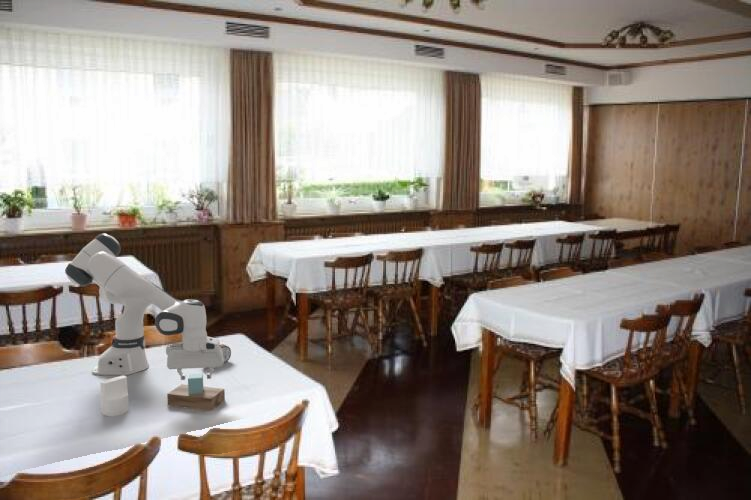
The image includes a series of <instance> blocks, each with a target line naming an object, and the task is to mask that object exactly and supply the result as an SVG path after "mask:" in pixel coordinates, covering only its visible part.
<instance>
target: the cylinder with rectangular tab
mask: <svg viewBox="0 0 751 500" xmlns="http://www.w3.org/2000/svg"><path fill="white" fill-rule="evenodd" d="M99 385H100V403H101V413H102V415H103V416H105V417H116V416H121V415H124V414H126V413H128V411H129V410H130V407H129V405H130V404H129V393H128V392H129V390H128V378H127V375H117V376H116V377H111V378H107V379H105V380H101V381H99Z"/></svg>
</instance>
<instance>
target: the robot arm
mask: <svg viewBox="0 0 751 500" xmlns="http://www.w3.org/2000/svg"><path fill="white" fill-rule="evenodd" d="M121 248H122V247H121V245H120V243H119V241H118V240H117V239H116V238H115V237H114V236H112V235H109V234H107V233H100V234H98V235H97V236H95V237H94V239H92V240H91V241H89V243H87V244H86V245H85V246H83V248H81V250H80V251H79V252H78V254H77V255H76V256H75V257H74V258H73V259H72V260H71V262H69V263H68V264H67V266H66V267H65V272H64V273H65V274H66V277H67V278H68V280H69V281H70V282H71V283H73V284H75V285H76V286H78V287H79V286H80V287H86V286H89V285H90V284H92V283H95V284H96V285H97V286H98V287H99V289H98V293H99V294H98V296H99V297H100V299H101V300H102V301H104V302H106V303H109V304H112V305H119V306H123V313H122V314H119V315H118V317H116V319H115V321H114V325H115V335H113V336H112V338H111V339H110V345H111V346H109V347H108V348H107V349H106V350H104V352H103V353H101V354H100V355H99V358H98V363H97V364H96V365H95V366H94V367H93V368H92V374H93V375H106V376H109V375H110V376H122V375H123V376H129V375H131V374H135V373H137V372H138V373H139V372H141V371H144V370H146V369H148V368H149V366H150V364H149V363H148V358H147V353H146V349H145V348H146V338H145V334H144V316H145V314H146V310H147V309H148V307H149V306H150V305H152V304H153V305H154V306H156V307H157V308H159V309H160V310H161V311H160V312H159V313H158V314H157V315H156V317H155V319H154V324H155V328H156V330H157V331H158V332H159V333H160V334H161V335H164V336H174V335H179V334H181V337H182V338H181V342H182V343H170V344H168V345H167V346H166V347H165V353H166V356H167V358H166V360H167V361H166V367H167V369H168V370H177V371H176V372H177V373H178V375H179V376H180V380H181V381H185V380H186V373H183V372H182V370H184V369H185V370H186V369H203V368H204V369H205V368H208V369H209V370H210V372H207V373H206V379H207V380H208V379H209V380H211V379H212V373H214V369H215V368H222V367H223V366H224V364H225V363H224V359H223V352H222V349H221V347H220V346H219V345H221V344H220V340H219V339H218V338H215V337H211V336H208V333H207V330H206V329H207V327H206V326H207V314H206V313H207V312H206V307H205V305H204V303H203V302H202V301H201V300H199V299H193V298H188V299H184V300H180V299H177V298H176V297H174V296H172V295H171V294H169V293H168V292H167V291H165V290H164V289H163V288H161V287H159V286H158V285H156V284H155V283H153V282H152V281H150V280H148V279H147V278H145V277H143V276H141V275H140V274H139V273H138V272H136V271H134V269H132V268H131V267H130V266H128V265H127V264H126V263H125V262H124V261H122V260H120V259H119V258H118V256H119V255H120V253H121V250H122V249H121Z"/></svg>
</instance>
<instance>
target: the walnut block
mask: <svg viewBox="0 0 751 500" xmlns="http://www.w3.org/2000/svg"><path fill="white" fill-rule="evenodd" d="M225 390H226V389H225V388H220V387H219V388H218V387H211V386H210V387H209V386H203V393H201V394H188V384H183V383H182V384H180V385H179V386H177V387H175V388H174V389H172V390H171V391H169V392H168V393H167V396H166V397H167V398H166V399H167V406H168V405H170V407H176V406H178V408H184V407H186V408H187V409H193V408H194V409H195V410H201V409H202V411H203V410H204V411H213V410H215V409H216V408H217V407H218V406H220V405H221V404H222V403H224V402H225V401H226V397H225V395H226V392H225ZM186 408H185V409H186ZM214 408H215V409H214Z"/></svg>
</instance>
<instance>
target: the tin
mask: <svg viewBox="0 0 751 500" xmlns="http://www.w3.org/2000/svg"><path fill="white" fill-rule="evenodd" d="M219 346H220V347H221V349H222V352H223V359H224V363H223V364H226V363H227V362H228V361H229V360H230V359H231V357H232V356H231V355H232V349H231V347H230V346H229V345H227V344H219Z"/></svg>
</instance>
